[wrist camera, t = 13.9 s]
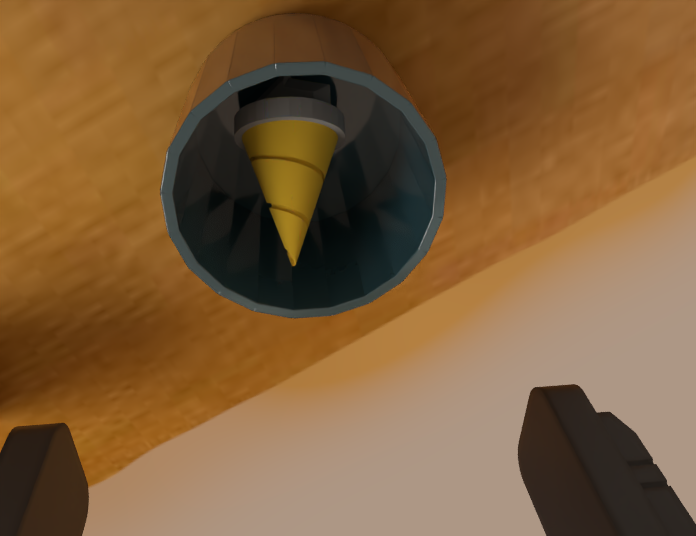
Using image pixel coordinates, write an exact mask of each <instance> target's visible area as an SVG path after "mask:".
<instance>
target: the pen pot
mask: <svg viewBox="0 0 696 536" xmlns="http://www.w3.org/2000/svg"><path fill="white" fill-rule="evenodd" d="M280 76H291V78H292V79H298V80H304V81H310V82H316V83H322V84H328V85H330V102H331V105H333V106H335V107H337V108H338V109H339V110H340V111H341V112H342V113H343V115H344V119H345V141H344V143H343V144H342V145H341V146H340V147H339V148H338V149H336V150H334V153H333V156H332V159H331V162H330V165H329V168H328V171H327V173H326V176H325V179H324V182H323V185H322V188H321V191H320V194H319V197H318V200H317V203H316V206H315V209H314V212H313V215H312V218H311V221H310V224H309V227H308V229H307V233H306V236H305V239H304V242H303V245H302V248H301V251H300V254H299V257H298V259H297V262H296V265H295V266H292V265H291V262H290V260H289V257H288V255H287V250H286V249H285V247H284V245H283V242H282V240H281V237H280V235H279V232H278V230H277V227H276V225H275V222H274V220H273V217H272V214H271V212H270V209H269V208H270V207H272V205H271V203H267V202H266V199H265V197H264V194H263V192H262V189H261V187H260V184H259V182H258V179H257V177H256V174H255V172H254V169H253V167H252V164H251V161H250V159H249V157H248V154H247V152H246V151H245V150H243V149H241V148H240V147H239V146H238V145H237V144H236V142H235V141H234V117H235V115H236V113H237V112H238V111H239V110H240V109H241V108H242V107H244V106H246V105H247V104H250V103H253V102H255V101H257V100H258V98H259V97H260V96H261V95H262V94H263V93H264V92H265V91H266V90H267V89H268V88H269V87H270V86H271V85H272V84H273V83H274V82H275V81H276V80H277V79H278V78H279V77H280ZM446 181H447V179H446V173H445V169H444V165H443V161H442V158H441V154H440V150H439V146H438V143H437V139H436V137H435V135H434V133H433V132H432V130H431V129H430V127H429V125H428V124H427V122H426V120H425V119H424V117H423V115H422V114H421V112H420V110H419V109H418V107H417V105H416V104H415V102H414V100H413V99H412V97H411V95H410V94H409V92H408V90H407V89H406V87H405V85H404V84H403V82H402V81H401V79H400V77H399V76H398V74H397V73H396V71H395V70H394V69H393V67H392V66H391V64H390V63H389V61H388V60H387V58H386V57H385V56H384V54H383V53H382V51H381V50H380V49H379V48H378V47H377V46H376V45H374V44H373V43H372V42H371V41H370V40H369V39H368V38H367V37H365V36H364V35H362V34H361V33H359V32H358V31H356V30H355V29H354V28H352V27H350V26H348V25H346V24H343V23H341V22H339V21H336V20H333V19H330V18H327V17H324V16H319V15H313V14H304V13H288V14H278V15H274V16H269V17H265V18H261V19H259V20H256V21H254V22H251V23H249V24H247V25H245V26H243V27H241V28H240V29H238V30H236V31H234V32H233V33H232V34H230V35H229V36H228V37H227V38H225V39H224V40H223V41H221V43H220V44H219V45H218V46H217V47H216V48H215V49H214V50H213V51H212V52H211V53H210V54H209V55H208V57H207V58H206V60H205V62H204V63H203V64H202V66H201V68H200V70H199V72H198V74H197V76H196V78H195V79H194V81H193V83H192V85H191V87H190V90H189V92H188V95H187V98H186V101H185V103H184V106H183V109H182V112H181V114H180V117H179V120H178V122H177V125H176V128H175V131H174V133H173V136H172V139H171V141H170V144H169V147H168V150H167V153H166V159H165V165H164V171H163V177H162V183H161V188H160V196H161V201H162V206H163V212H164V217H165V222H166V227H167V232H168V234H169V236H170V238H171V239H172V241H173V243H174V244H175V246H176V248H177V250H178V251H179V253H180V255H181V256H182V258H183V260H184V262H185V263H186V265H187V267H188V268H189V269H190V270H191V271H192V272H193V273H195V274H196V275H197V276H198V277H199V278H200V279H201V280H202V281H204V282H205V283H206V284H207V285H208V286H209V287H210V288H211V289H212V290H214V291H215V292H216V293H217V294H219V295H221V296H223V297H225V298H227V299H229V300H231V301H233V302H235V303H237V304H240V305H242V306H244V307H246V308H248V309H250V310H252V311H255V312H260V313H266V314H271V315H277V316H282V317H287V318H307V317H321V316H332V315H336V314H339V313H342V312H345V311H348V310H351V309H354V308H357V307H360V306H363V305H366V304H369V303H371V302H372V301H374V300H376V299H377V298H379V297H380V296H382V295H383V294H385V293H386V292H388V291H389V290H391V289H392V288H394V287H395V286H397V285H399V284H400V283H401V282H402V281H404V279H405V278H406V277H407V276H408V275H409V274H410V273H411V271H412V270H413V269H414V268H415V267H416V266H417V264H418V263H419V262H420V261H421V260H422V259H423V258H424V256H425V255H426V254H427V252H428V251H429V249H430V246H431V244H432V242H433V239H434V237H435V235H436V233H437V230H438V228H439V226H440V223H441V221H442V219H443V215H444V204H445V192H446Z"/></svg>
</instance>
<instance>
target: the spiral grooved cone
mask: <svg viewBox="0 0 696 536" xmlns="http://www.w3.org/2000/svg"><path fill="white" fill-rule="evenodd" d="M234 141H235V142H236V144H237V145H238V146H239V147H240V148H241V149H243V150H245V151H246V152H247V154H248V157H249V159H250V161H251V164H252V167H253V169H254V172H255V174H256V177H257V179H258V182H259V184H260V187H261V189H262V192H263V194H264V197H265V199H266V202H267V203H271V205H272V207H270V208H269V209H270V212H271V214H272V217H273V220H274V222H275V225H276V227H277V230H278V232H279V235H280V237H281V240H282V242H283V245H284V247H285V249H286V250H287V255H288V257H289V260H290V262H291V265H292V266H295V265H296V262H297V259H298V257H299V254H300V251H301V248H302V245H303V242H304V239H305V236H306V233H307V229H308V227H309V224H310V221H311V218H312V215H313V212H314V209H315V206H316V203H317V200H318V197H319V194H320V191H321V188H322V185H323V182H324V179H325V176H326V173H327V171H328V168H329V165H330V162H331V159H332V156H333V153H334V150H336V149H338V148H339V147H340V146H341V145H342V144H343V143H344V141H345V119H344V115H343V113H342V112H341V111H340V110H339V109H338V108H337V107H335V106H333V105H331V102H330V85H328V84H322V83H316V82H310V81H304V80H298V79H292V78H291V76H280V77H279V78H278V79H277V80H276V81H275V82H274V83H273V84H272V85H271V86H270V87H269V88H268V89H267V90H266V91H265V92H264V93H263V94H262V95H261V96H260V97H259V98H258V100H257V101H255V102H253V103H250V104H247V105H246V106H244V107H242V108H241V109H240V110H239V111H238V112H237V113H236V115H235V117H234Z"/></svg>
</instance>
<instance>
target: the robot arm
mask: <svg viewBox="0 0 696 536" xmlns="http://www.w3.org/2000/svg"><path fill="white" fill-rule="evenodd" d="M518 461H519V467H520V472H521V475H522V479H523V481H524V484H525V486H526V488H527V491H528V493H529V495H530V498H531V500H532V502H533V505H534V507H535V510H536V512H537V514H538V517H539V519H540V521H541V524H542V526H543V529H544V531H545V533H546V536H696V524H695V523H694V521H693V519H692V518H691V516H690V515H689V513H688V512H687V510H686V509H685V507H684V506H683V504H682V503H681V501H680V500H679V498H678V497H677V495H676V494H675V492H674V490H673V489H672V487H671V486H668V485H667V480H666V478H665V477H664V475H663V474H662V472H661V471H660V469H659V468H658V466H657V465H656V464H653V459H652V457H651V456H650V454H649V453H648V451H647V449H646V448H645V446H644V445H643V443H642V442H641V440H640V439H639V437H638V436H637V434H636V433H635V432H634V431H633V430H631V429H630V428H629V427H628V426H627V425H625V424H624V423H623V422H622V421H621V420H619V419H618V418H617V417H616V416H615V415H613V414H612V413H611V412H600V413H596V411H595V409H594V408H593V406H592V404H591V403H590V402H589V400H588V398H587V396H586V395H585V393H584V391H583V390H582V389H581V388H580V387H579V386H578V385H575V384H572V385H559V386H547V387H535V388H533V389H532V391H531V392H530V396H529V400H528V404H527V409H526V413H525V417H524V422H523V426H522V431H521V435H520V440H519V445H518ZM88 494H89V493H88V484H87V480H86V477H85V474H84V471H83V468H82V465H81V462H80V459H79V456H78V454H77V451H76V448H75V445H74V442H73V439H72V436H71V433H70V430H69V428H68V426H67V425H66V424H65V423H56V424H43V425H31V426H18V427H15V428H13V429H12V430H11V432H10V433H9V435H8V437H7V439H6V441H5V444H4V446H3V448H2V450H1V453H0V536H82V533H83V530H84V526H85V523H86V518H87V513H88V502H89V495H88Z"/></svg>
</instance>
